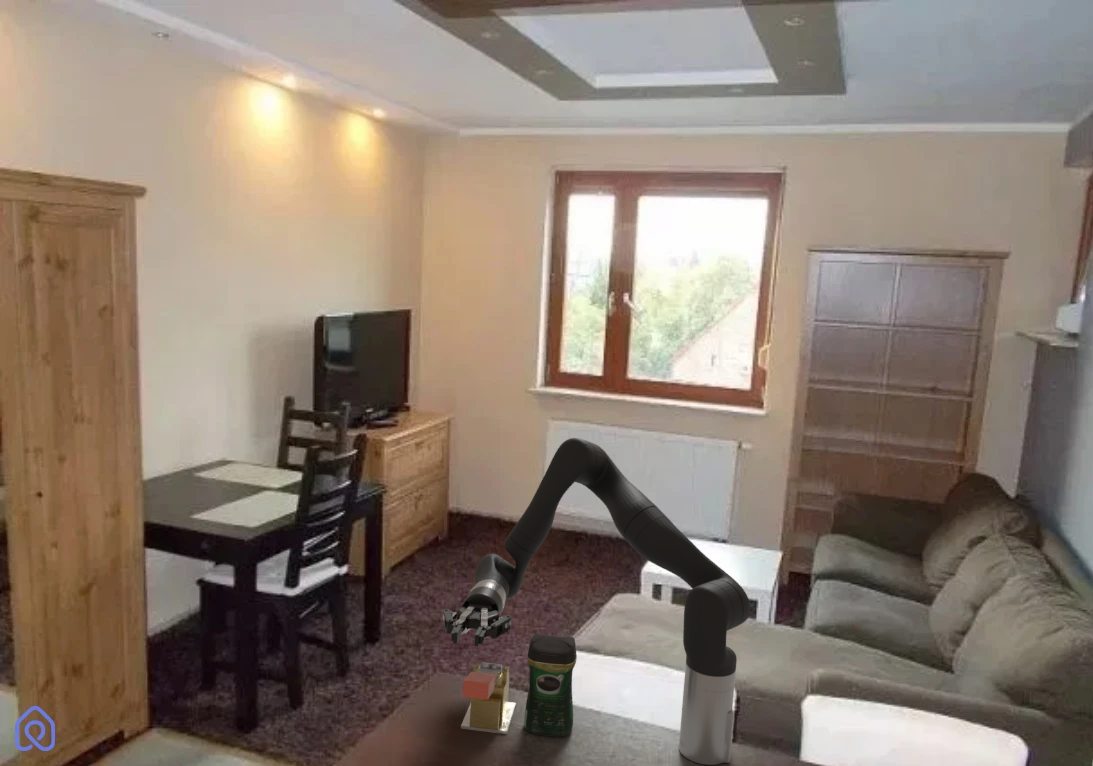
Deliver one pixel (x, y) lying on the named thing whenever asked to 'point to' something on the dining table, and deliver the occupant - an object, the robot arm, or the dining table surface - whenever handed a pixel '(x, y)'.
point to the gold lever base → (491, 708)
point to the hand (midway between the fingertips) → (466, 639)
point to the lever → (482, 681)
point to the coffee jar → (550, 685)
